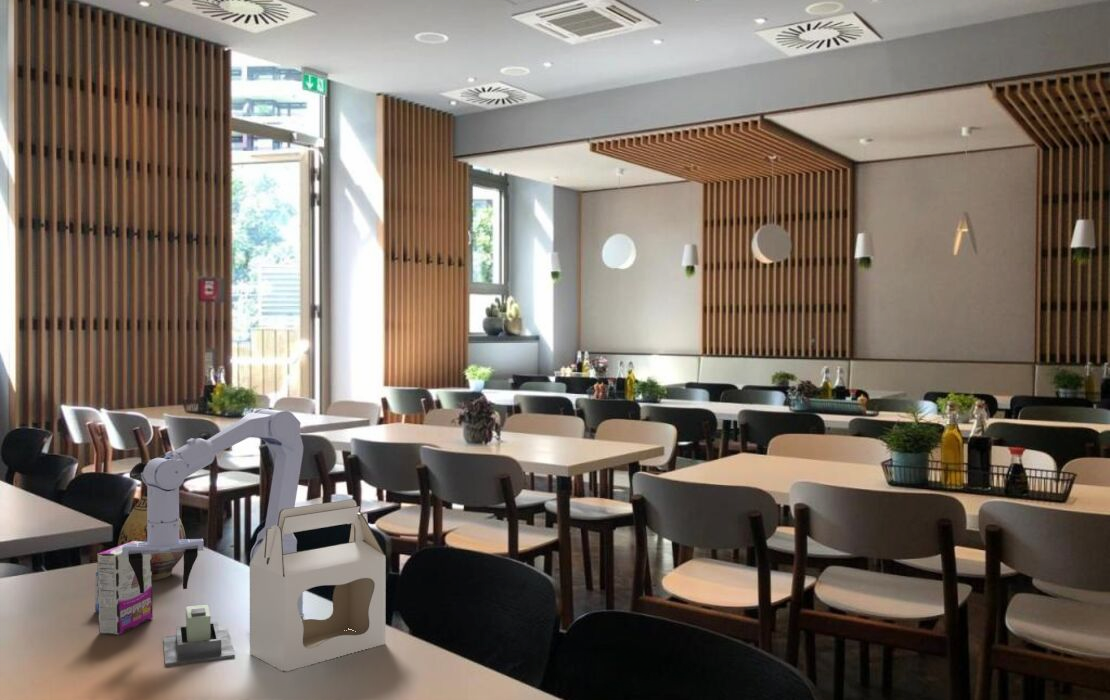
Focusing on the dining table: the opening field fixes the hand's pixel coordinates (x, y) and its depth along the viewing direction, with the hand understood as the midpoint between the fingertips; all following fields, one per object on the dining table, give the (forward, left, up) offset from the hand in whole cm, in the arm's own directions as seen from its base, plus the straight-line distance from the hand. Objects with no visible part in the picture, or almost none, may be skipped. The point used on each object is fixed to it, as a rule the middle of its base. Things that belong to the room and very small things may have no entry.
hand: (163, 589), depth 182 cm
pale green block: (-6, +5, -8) cm, 12 cm away
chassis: (-6, +6, -10) cm, 13 cm away
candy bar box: (+7, -14, -11) cm, 19 cm away
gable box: (-27, +15, -11) cm, 33 cm away
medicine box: (+9, -26, -11) cm, 30 cm away
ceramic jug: (+1, -54, -11) cm, 55 cm away
